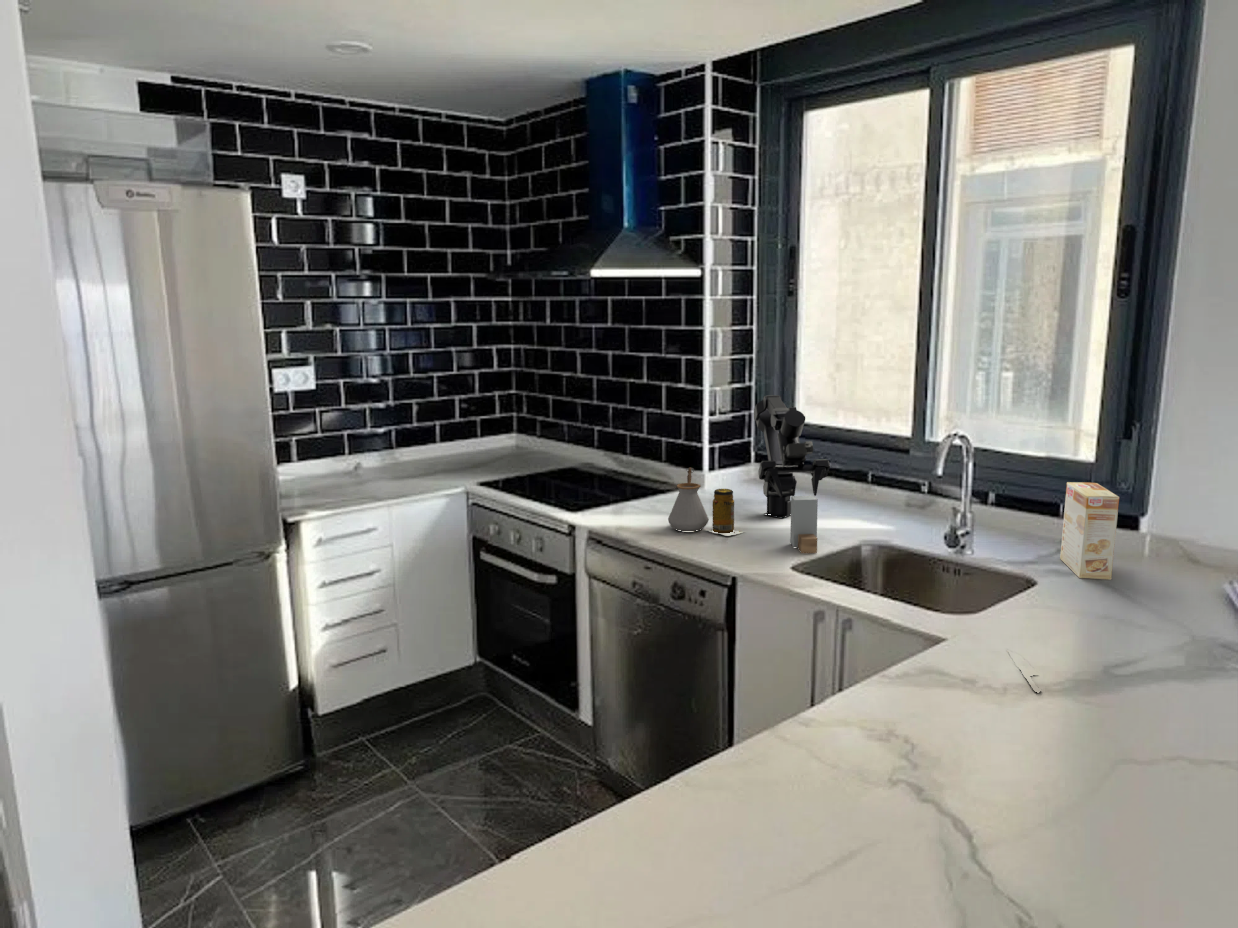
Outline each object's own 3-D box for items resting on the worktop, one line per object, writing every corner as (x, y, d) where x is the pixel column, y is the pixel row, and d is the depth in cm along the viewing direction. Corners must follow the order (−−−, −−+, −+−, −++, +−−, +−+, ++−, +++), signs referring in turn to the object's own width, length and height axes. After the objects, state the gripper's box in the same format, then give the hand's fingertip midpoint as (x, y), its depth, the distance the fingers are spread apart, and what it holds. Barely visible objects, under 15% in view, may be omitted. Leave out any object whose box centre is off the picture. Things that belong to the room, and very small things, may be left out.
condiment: (723, 527, 243) (723, 486, 241) (745, 532, 237) (745, 491, 234) (705, 532, 238) (705, 490, 236) (727, 538, 232) (727, 495, 230)
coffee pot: (708, 535, 235) (708, 482, 232) (666, 534, 237) (666, 482, 234) (709, 515, 256) (709, 466, 253) (671, 514, 257) (671, 466, 255)
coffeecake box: (1112, 580, 192) (1120, 496, 189) (1078, 578, 194) (1085, 495, 190) (1090, 559, 207) (1097, 482, 203) (1058, 558, 208) (1065, 481, 204)
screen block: (790, 543, 225) (791, 496, 223) (812, 543, 225) (813, 495, 223) (793, 548, 221) (794, 500, 219) (816, 547, 222) (817, 499, 219)
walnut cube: (797, 548, 221) (798, 534, 220) (812, 548, 221) (813, 533, 220) (801, 553, 217) (801, 538, 216) (816, 553, 217) (817, 538, 216)
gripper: (760, 431, 229) (768, 480, 220) (829, 430, 230) (839, 478, 221) (755, 455, 238) (762, 502, 230) (821, 453, 239) (830, 500, 230)
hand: (798, 495), depth 227 cm, fingers open, 9 cm apart
